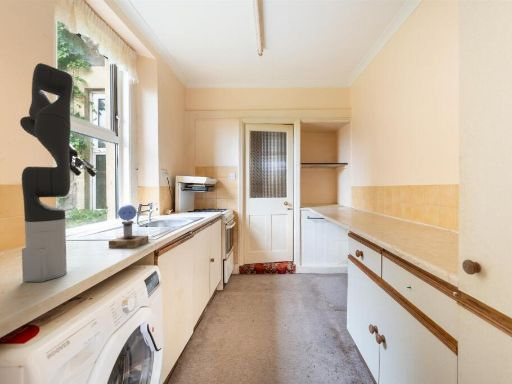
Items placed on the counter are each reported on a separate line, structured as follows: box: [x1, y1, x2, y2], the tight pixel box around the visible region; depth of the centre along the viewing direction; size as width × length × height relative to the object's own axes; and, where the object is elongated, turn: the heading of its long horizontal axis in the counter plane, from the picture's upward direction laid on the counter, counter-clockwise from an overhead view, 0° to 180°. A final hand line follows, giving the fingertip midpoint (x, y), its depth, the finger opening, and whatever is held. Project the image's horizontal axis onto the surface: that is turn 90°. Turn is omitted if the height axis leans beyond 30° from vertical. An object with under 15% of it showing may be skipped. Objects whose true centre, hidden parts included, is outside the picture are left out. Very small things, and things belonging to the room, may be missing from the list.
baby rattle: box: [117, 204, 137, 221], centre depth 126 cm, size 9×9×18 cm
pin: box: [121, 220, 134, 239], centre depth 112 cm, size 5×5×11 cm
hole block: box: [108, 235, 150, 249], centre depth 112 cm, size 12×12×3 cm
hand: (87, 174), depth 105 cm, fingers open, 8 cm apart
